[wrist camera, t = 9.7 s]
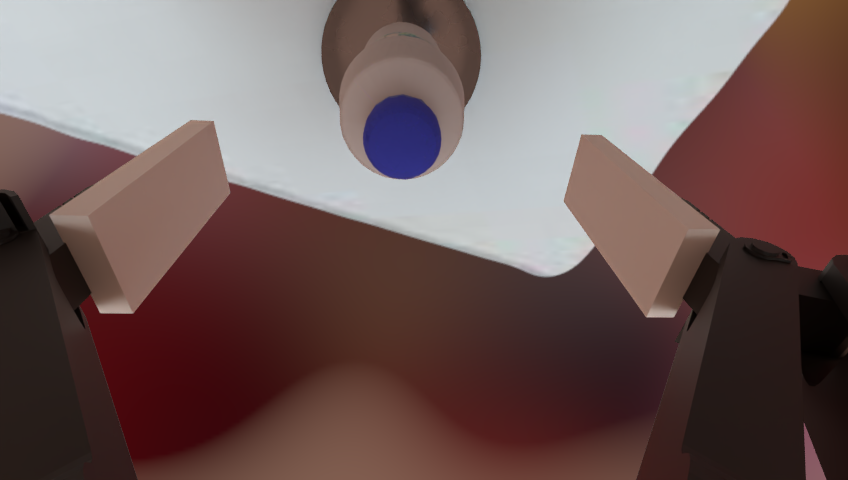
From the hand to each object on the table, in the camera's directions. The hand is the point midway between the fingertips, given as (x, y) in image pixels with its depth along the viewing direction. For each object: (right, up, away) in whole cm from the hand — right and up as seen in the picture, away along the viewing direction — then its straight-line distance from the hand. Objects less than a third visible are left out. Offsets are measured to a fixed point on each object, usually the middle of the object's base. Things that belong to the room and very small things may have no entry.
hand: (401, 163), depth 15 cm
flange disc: (-1, +12, +19) cm, 23 cm away
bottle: (-1, +12, +18) cm, 22 cm away
